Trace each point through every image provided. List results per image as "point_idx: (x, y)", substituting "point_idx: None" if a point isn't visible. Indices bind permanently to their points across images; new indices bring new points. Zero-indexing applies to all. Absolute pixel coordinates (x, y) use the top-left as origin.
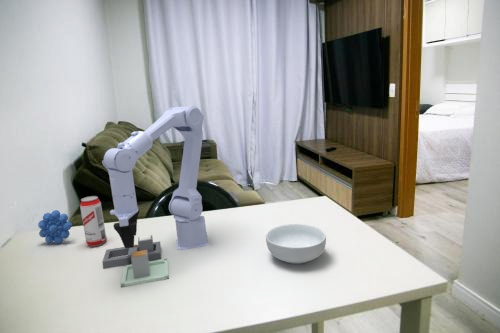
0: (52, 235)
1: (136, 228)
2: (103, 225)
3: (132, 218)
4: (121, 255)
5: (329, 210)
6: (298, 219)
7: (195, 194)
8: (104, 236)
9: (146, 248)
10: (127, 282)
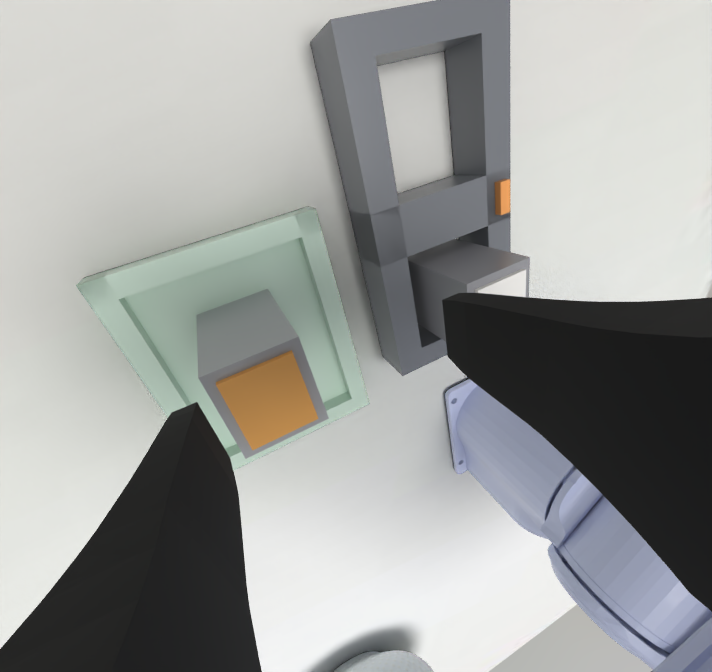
0: None
1: (499, 396)
2: None
3: (617, 459)
4: (456, 122)
5: (545, 617)
6: (530, 591)
7: None
8: None
9: (437, 309)
10: (112, 318)
